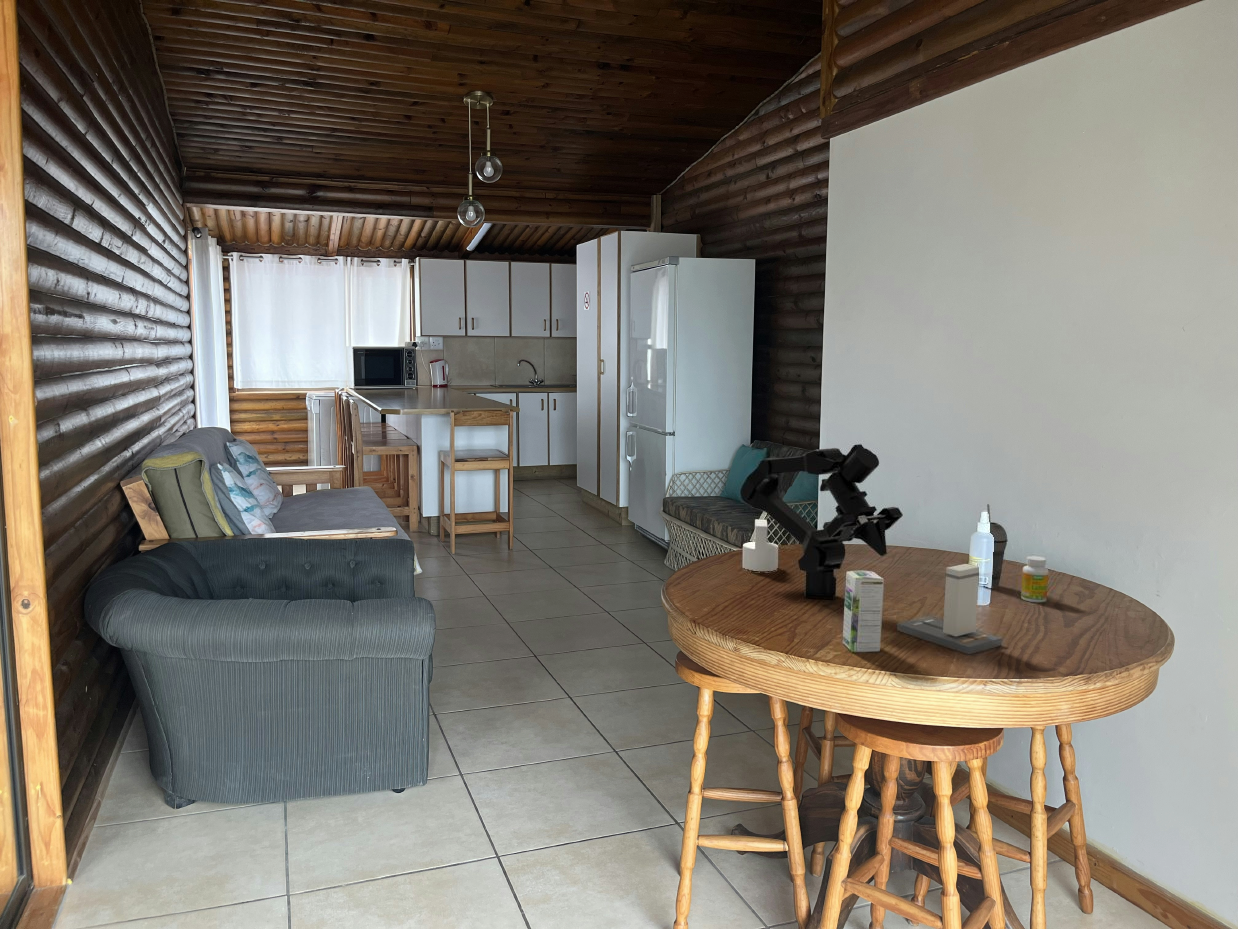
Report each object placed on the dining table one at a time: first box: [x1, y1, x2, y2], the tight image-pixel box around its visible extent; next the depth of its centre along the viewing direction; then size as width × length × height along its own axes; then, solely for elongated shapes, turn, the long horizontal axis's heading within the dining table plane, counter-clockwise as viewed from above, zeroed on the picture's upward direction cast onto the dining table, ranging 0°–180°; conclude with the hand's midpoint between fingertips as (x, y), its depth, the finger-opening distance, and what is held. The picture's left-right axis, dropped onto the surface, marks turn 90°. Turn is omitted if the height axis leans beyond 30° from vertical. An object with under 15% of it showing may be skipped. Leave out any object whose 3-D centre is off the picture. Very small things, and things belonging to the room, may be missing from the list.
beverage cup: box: [986, 503, 1009, 589], centre depth 217 cm, size 7×7×20 cm
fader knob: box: [943, 563, 979, 636], centre depth 177 cm, size 3×6×13 cm, turn 123°
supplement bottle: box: [1020, 555, 1049, 603], centre depth 207 cm, size 5×5×10 cm
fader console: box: [896, 615, 1003, 655], centre depth 180 cm, size 17×10×2 cm, turn 33°
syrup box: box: [842, 570, 885, 653], centre depth 173 cm, size 6×6×14 cm
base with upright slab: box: [742, 518, 779, 572], centre depth 234 cm, size 9×9×12 cm
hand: (884, 555), depth 193 cm, fingers closed
